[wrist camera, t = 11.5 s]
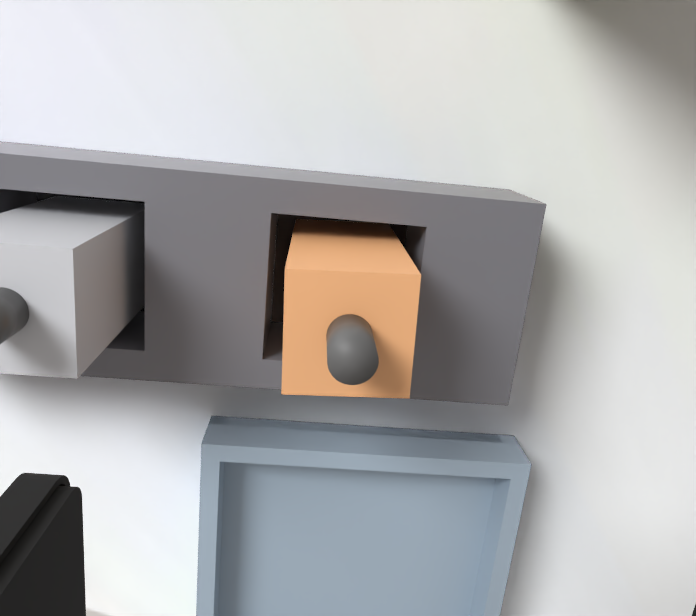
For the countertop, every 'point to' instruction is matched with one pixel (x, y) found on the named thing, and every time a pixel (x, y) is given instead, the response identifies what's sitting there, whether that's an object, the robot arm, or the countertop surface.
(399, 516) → the tray
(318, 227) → the plug
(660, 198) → the countertop surface
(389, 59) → the countertop surface
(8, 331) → the twin plug
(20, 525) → the robot arm
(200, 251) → the grey two-slot holder
